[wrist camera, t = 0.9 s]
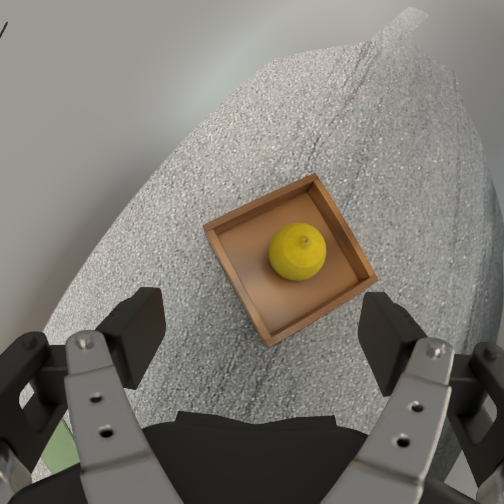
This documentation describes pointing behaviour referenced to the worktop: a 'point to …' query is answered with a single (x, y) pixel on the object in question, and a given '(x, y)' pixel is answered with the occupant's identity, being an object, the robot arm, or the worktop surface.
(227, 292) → the worktop surface
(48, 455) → the mat
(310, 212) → the crate
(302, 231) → the fruit
